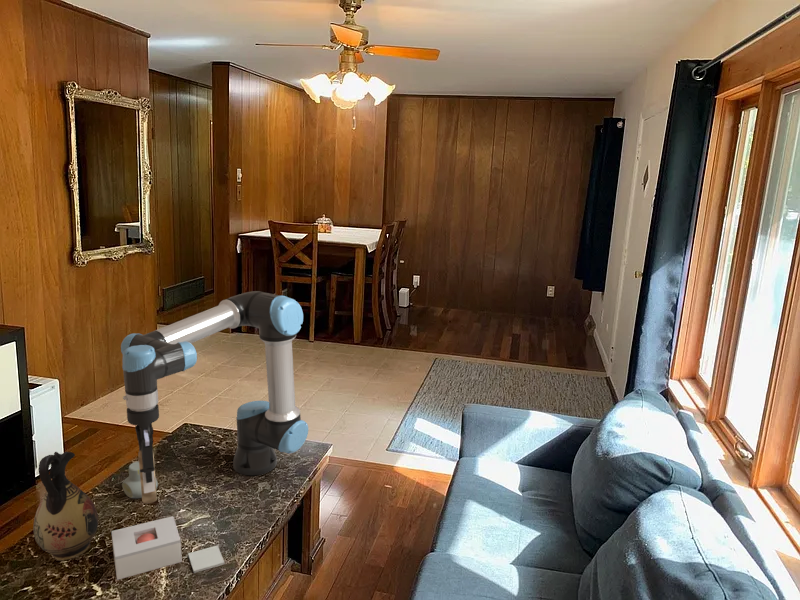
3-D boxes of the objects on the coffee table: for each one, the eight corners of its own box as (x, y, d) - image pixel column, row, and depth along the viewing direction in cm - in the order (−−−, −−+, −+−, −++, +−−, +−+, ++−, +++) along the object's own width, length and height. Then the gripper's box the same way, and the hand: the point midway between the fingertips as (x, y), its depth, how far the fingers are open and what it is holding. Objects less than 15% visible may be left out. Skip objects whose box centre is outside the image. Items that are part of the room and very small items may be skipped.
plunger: (154, 547, 167) (153, 531, 165) (156, 556, 163) (155, 540, 162) (137, 552, 164) (136, 536, 163) (139, 561, 161) (138, 545, 160)
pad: (217, 547, 169) (217, 545, 169) (224, 564, 162) (224, 562, 162) (188, 555, 165) (188, 553, 165) (193, 573, 159) (193, 571, 158)
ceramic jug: (58, 531, 173) (47, 436, 166) (110, 533, 173) (102, 439, 166) (19, 570, 157) (6, 467, 150) (78, 574, 157) (66, 471, 149)
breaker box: (174, 536, 173) (173, 516, 171) (181, 561, 163) (180, 539, 161) (113, 552, 165) (111, 531, 163) (117, 579, 155) (115, 557, 153)
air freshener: (120, 491, 194) (117, 463, 192) (144, 481, 200) (142, 454, 198) (136, 505, 187) (133, 476, 185) (161, 494, 193) (159, 466, 191)
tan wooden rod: (155, 494, 162) (152, 447, 159) (157, 501, 159) (154, 453, 156) (141, 497, 160) (137, 450, 157) (143, 504, 157) (139, 456, 154)
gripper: (123, 396, 158) (130, 475, 164) (129, 421, 144) (136, 507, 150) (154, 391, 162) (159, 469, 168) (162, 416, 148) (168, 500, 153)
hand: (148, 487), depth 159 cm, fingers closed on tan wooden rod, 3 cm apart
